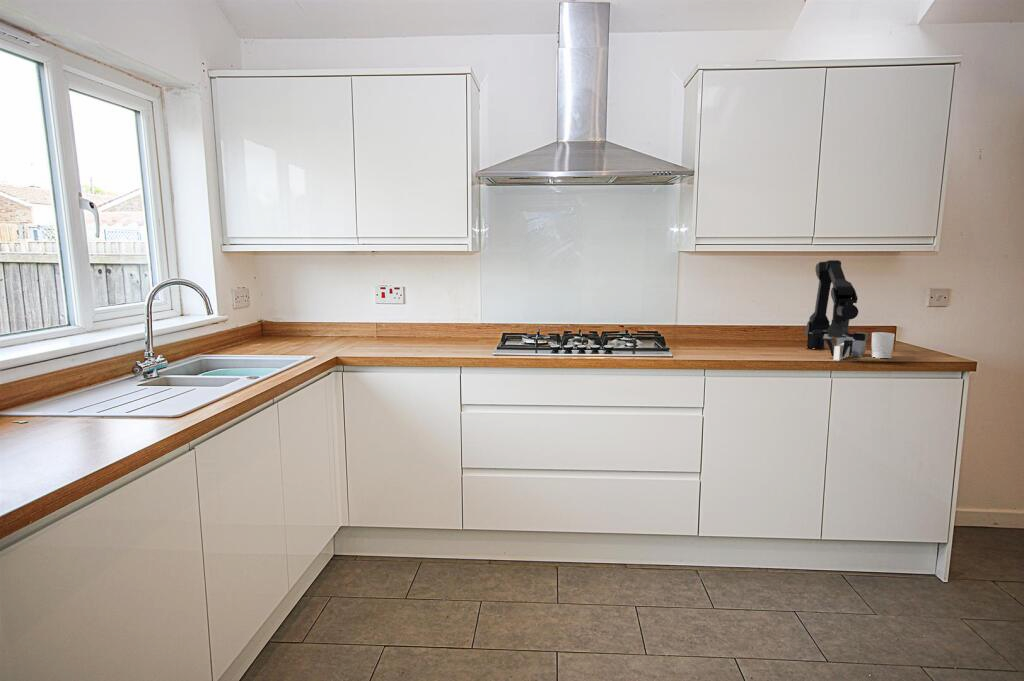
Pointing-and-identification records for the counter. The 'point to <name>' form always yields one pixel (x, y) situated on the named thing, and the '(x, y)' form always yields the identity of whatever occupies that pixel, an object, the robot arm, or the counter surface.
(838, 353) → the white rectangular block
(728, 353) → the counter surface
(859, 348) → the dispenser
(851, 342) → the robot arm
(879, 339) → the white cup
